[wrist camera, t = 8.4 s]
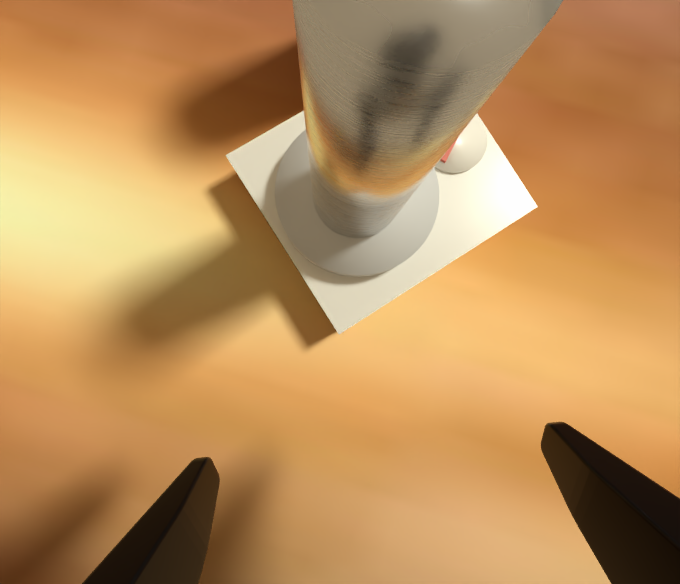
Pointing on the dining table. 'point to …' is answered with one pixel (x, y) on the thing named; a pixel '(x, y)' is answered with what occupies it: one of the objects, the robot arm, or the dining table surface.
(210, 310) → the dining table surface
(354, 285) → the scale
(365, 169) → the shiny silver cylinder
